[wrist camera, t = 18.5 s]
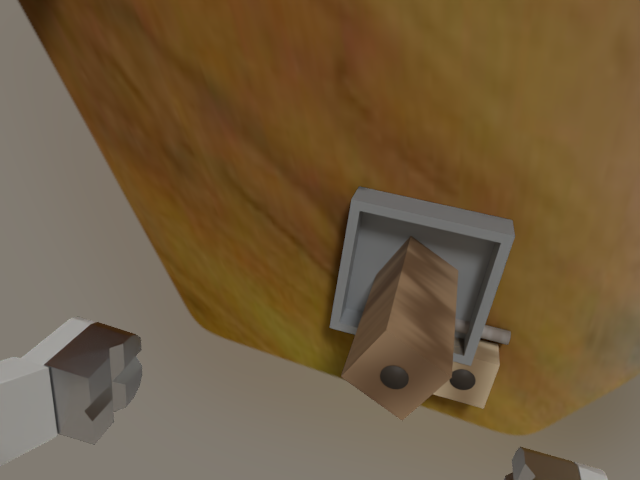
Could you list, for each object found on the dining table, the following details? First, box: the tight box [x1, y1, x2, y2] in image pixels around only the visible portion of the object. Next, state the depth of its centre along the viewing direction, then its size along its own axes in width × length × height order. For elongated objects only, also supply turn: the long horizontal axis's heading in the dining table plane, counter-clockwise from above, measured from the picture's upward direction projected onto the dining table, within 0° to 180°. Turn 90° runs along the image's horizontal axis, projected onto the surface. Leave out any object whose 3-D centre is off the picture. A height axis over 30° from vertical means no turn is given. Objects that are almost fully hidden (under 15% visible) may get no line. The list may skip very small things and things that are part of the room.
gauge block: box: [433, 318, 511, 409], centre depth 47 cm, size 6×7×3 cm
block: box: [341, 236, 458, 420], centre depth 39 cm, size 5×5×14 cm
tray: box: [330, 187, 515, 366], centre depth 45 cm, size 13×13×3 cm
